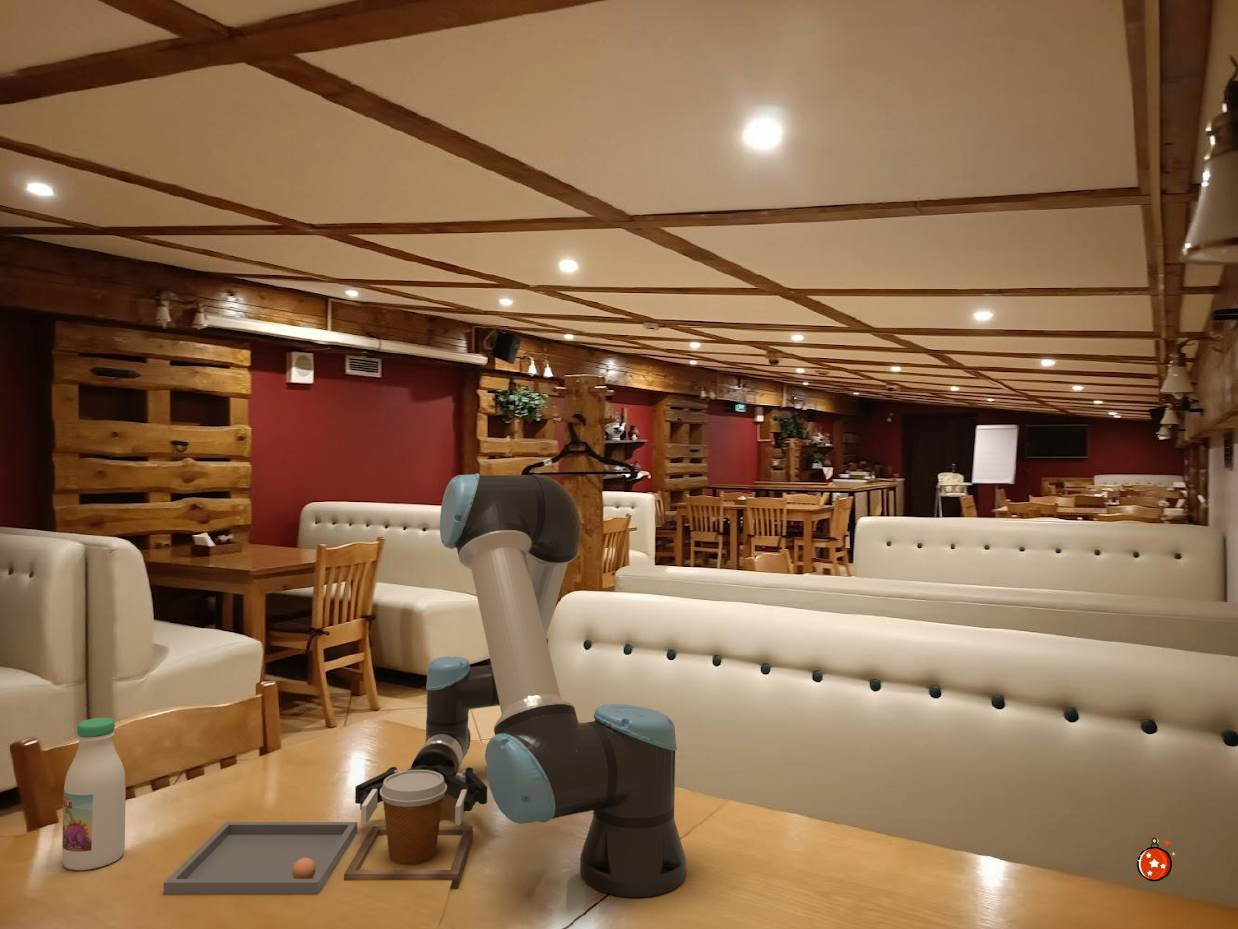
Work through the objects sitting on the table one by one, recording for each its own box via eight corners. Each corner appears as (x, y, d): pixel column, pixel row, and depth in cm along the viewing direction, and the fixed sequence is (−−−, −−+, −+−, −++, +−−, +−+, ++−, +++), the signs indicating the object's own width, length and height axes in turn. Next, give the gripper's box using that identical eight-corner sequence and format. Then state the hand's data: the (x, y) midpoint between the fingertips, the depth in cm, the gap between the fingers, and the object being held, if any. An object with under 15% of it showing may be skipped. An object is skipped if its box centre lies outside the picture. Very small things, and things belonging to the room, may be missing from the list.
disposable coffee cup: (429, 881, 118) (430, 795, 118) (366, 874, 120) (367, 789, 120) (455, 851, 128) (457, 771, 128) (396, 845, 130) (398, 766, 130)
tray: (356, 839, 131) (357, 822, 131) (317, 903, 112) (318, 882, 112) (225, 839, 130) (225, 822, 130) (163, 903, 111) (163, 882, 111)
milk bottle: (116, 842, 129) (118, 710, 129) (131, 860, 123) (133, 722, 123) (56, 858, 123) (58, 720, 123) (69, 877, 118) (71, 733, 118)
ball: (318, 875, 117) (318, 853, 117) (311, 886, 114) (311, 864, 114) (296, 875, 117) (296, 853, 117) (288, 886, 114) (289, 864, 114)
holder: (472, 839, 132) (472, 826, 132) (457, 888, 117) (457, 874, 117) (372, 839, 131) (372, 826, 131) (343, 888, 116) (344, 874, 116)
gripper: (510, 786, 146) (496, 841, 124) (362, 786, 145) (323, 841, 124) (510, 742, 146) (497, 790, 124) (363, 742, 145) (324, 789, 124)
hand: (410, 815), depth 124 cm, fingers open, 13 cm apart
